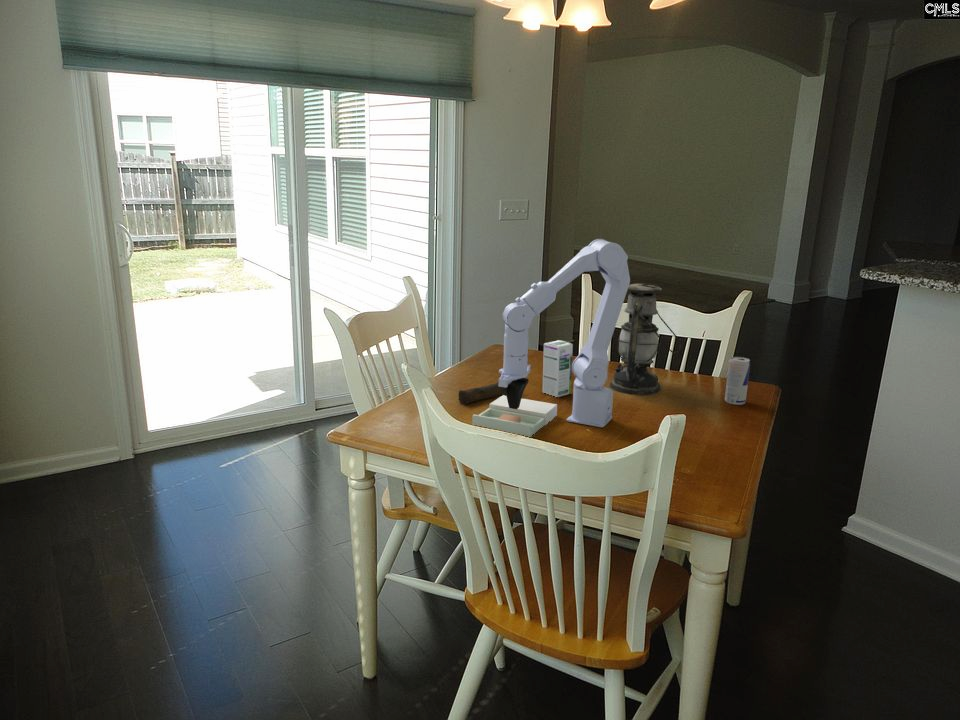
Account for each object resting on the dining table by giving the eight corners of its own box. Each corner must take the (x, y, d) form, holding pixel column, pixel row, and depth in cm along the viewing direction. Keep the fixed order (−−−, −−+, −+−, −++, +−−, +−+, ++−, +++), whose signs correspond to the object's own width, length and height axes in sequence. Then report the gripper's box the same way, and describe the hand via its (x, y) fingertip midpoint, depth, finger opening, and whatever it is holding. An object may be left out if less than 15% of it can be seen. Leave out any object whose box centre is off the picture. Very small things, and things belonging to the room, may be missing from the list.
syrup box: (557, 398, 190) (559, 346, 187) (541, 392, 195) (543, 342, 191) (571, 394, 194) (573, 343, 190) (555, 389, 198) (557, 339, 194)
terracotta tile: (513, 422, 165) (512, 430, 165) (520, 416, 169) (520, 424, 169) (495, 419, 167) (495, 427, 167) (503, 413, 170) (503, 421, 171)
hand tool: (465, 407, 183) (466, 390, 182) (457, 402, 186) (457, 386, 185) (522, 395, 194) (523, 379, 192) (513, 391, 197) (514, 375, 195)
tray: (544, 425, 170) (545, 414, 169) (530, 438, 162) (530, 425, 161) (488, 415, 176) (489, 404, 175) (472, 426, 168) (472, 415, 168)
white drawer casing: (556, 415, 177) (557, 404, 176) (545, 425, 170) (545, 413, 169) (502, 406, 183) (502, 395, 182) (489, 415, 176) (489, 403, 176)
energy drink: (748, 402, 190) (754, 359, 187) (740, 406, 186) (745, 363, 183) (729, 397, 193) (734, 355, 190) (721, 402, 190) (726, 359, 186)
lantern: (619, 375, 213) (626, 276, 205) (683, 384, 205) (693, 282, 197) (601, 392, 196) (608, 285, 188) (670, 402, 188) (680, 292, 180)
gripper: (512, 345, 175) (511, 397, 179) (487, 358, 162) (486, 413, 166) (539, 348, 172) (536, 401, 175) (515, 362, 159) (513, 419, 163)
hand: (514, 407), depth 171 cm, fingers closed
